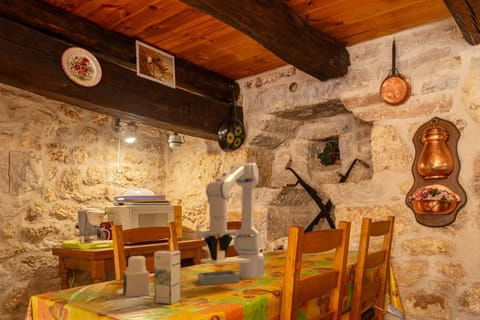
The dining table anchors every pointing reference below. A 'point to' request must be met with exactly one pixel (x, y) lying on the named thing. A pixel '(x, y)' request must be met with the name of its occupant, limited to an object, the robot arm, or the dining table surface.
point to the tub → (218, 278)
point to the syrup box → (166, 277)
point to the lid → (222, 259)
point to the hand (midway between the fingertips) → (218, 259)
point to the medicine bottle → (136, 277)
